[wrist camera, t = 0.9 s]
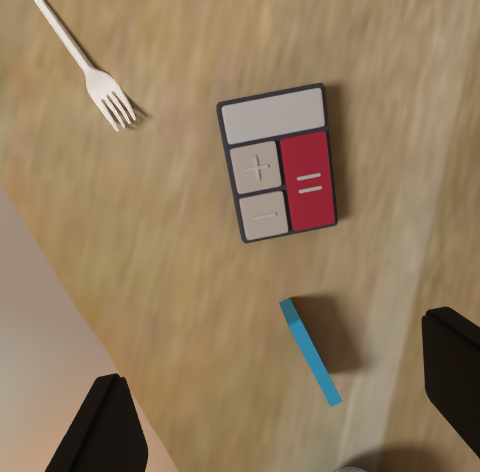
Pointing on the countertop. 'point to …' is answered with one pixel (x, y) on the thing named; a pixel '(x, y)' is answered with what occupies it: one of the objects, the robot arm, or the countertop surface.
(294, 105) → the calculator
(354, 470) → the chinaware
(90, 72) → the fork
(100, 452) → the robot arm
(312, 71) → the countertop surface
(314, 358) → the blue thin box
